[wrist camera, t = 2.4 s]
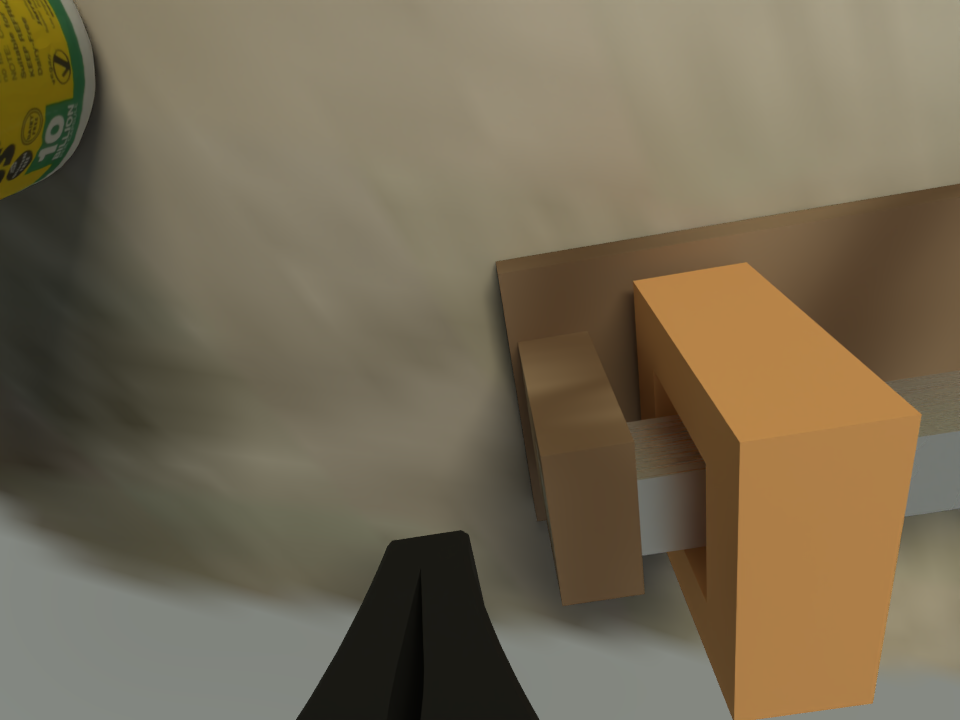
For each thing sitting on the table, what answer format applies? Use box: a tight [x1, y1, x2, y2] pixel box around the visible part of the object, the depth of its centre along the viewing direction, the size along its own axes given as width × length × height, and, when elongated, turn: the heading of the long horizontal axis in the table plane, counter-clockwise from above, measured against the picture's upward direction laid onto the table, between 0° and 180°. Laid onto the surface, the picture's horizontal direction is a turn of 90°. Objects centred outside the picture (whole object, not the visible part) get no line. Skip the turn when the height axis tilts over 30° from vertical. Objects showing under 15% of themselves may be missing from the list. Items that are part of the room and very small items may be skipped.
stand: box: [496, 184, 960, 606], centre depth 14 cm, size 16×7×5 cm, turn 99°
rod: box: [535, 370, 960, 561], centre depth 13 cm, size 16×2×2 cm, turn 99°
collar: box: [633, 262, 922, 720], centre depth 13 cm, size 2×6×6 cm, turn 9°
